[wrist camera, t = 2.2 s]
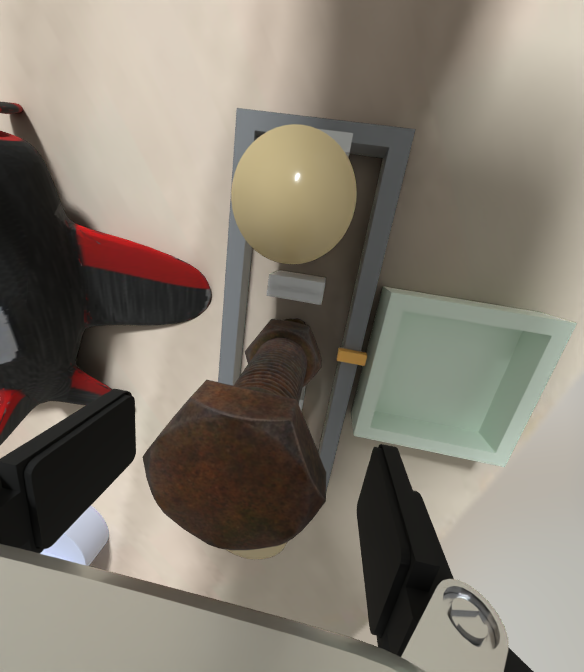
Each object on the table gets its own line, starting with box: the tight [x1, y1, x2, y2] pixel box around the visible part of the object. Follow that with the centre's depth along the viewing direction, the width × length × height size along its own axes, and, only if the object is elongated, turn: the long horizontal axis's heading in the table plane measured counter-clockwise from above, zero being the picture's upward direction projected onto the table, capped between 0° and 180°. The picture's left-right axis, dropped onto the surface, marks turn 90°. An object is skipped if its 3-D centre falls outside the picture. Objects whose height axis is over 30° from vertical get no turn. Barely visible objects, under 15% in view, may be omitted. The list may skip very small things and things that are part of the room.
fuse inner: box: [231, 124, 357, 264], centre depth 15 cm, size 5×5×10 cm
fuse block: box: [218, 108, 415, 491], centre depth 20 cm, size 11×28×4 cm, turn 171°
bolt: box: [143, 319, 326, 550], centre depth 15 cm, size 6×5×15 cm
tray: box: [351, 286, 577, 467], centre depth 20 cm, size 11×11×3 cm
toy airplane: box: [0, 102, 211, 445], centre depth 19 cm, size 28×24×15 cm
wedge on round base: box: [40, 506, 109, 566], centre depth 31 cm, size 9×7×13 cm
